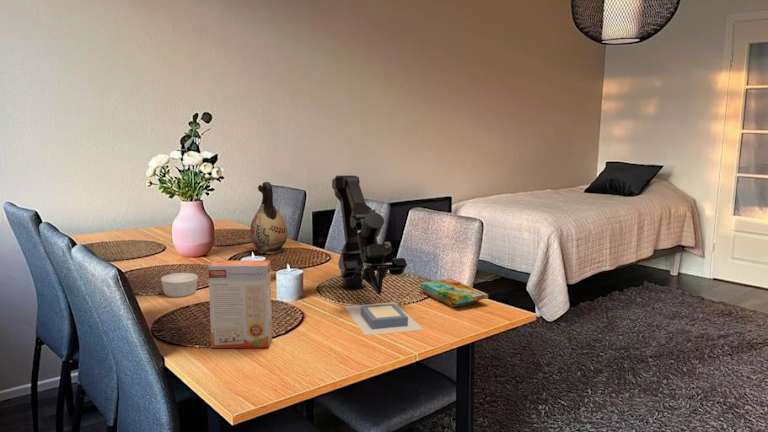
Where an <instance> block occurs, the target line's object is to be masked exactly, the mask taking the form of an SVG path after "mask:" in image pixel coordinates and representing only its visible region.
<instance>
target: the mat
mask: <svg viewBox="0 0 768 432" xmlns="http://www.w3.org/2000/svg"><path fill="white" fill-rule="evenodd" d="M385 304H395V305H396V306H397V307H398V308H399V309H400V310H401V311H402V312H403V313H404V314H405V315H406V316H407V317H408V326H400V327H389V328H379V329H372V328H371V327H370V326H369V324H368V323H367V322H366V321H365V319H364V318H363V317H362V316H361V306H373V305H385ZM343 308H344V309H345V310H346V311H347V313H348V314H349V315H350V317H351V319H352V320H353V321H354V322H355V324H356V325H357V327H359V329H360V331H361V332H362V333H363V334H364V335H365V336H371V335H380V334H381V335H382V334H389V333H390V334H391V333H401V332H403V333H404V332H411V331H413V332H414V331H421V330H424V328H422V327H421V326H420V325H419V324H418V323H417V322H416V321H415V320H414V319H413V317H411V316H410V315H409V314H408V313H407V312H406V311H405V310H403V308H402V307H401V306H399V304H397V302H396V301H392V302H391V301H390V302H379V303H369V304H368V303H367V304H357V305H356V304H354V305H345V306H343Z"/></svg>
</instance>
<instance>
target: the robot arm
mask: <svg viewBox="0 0 768 432" xmlns="http://www.w3.org/2000/svg"><path fill="white" fill-rule="evenodd" d="M331 187H332V190H333V192H334V196H335V197H336V198H337V200H338V201H339V202H340V208H341V209H340V210H341V218H342V224H343V233H344V241H345V242H344V245H343V247H342V248H341V253H340V256H339V259H338V269H339V270H340V276H341V279H342V283H341V284H339V285H338V286H339V287H341V288H343V289H345V290H349V291H354V290H359V289H362V288H363V289H364V288H366V284H363V280H364V281H365V282H366V283H368V284H369V286H370V287H371V288H372V289H373V291H374V292H375V293H376V295H381V294H382V288H383V280H384V279H385V278H386V276H387V274H388V273H389V274H390V275H391V276H402V275H403V274H404V272H405V271H406V267H407V265H408V264H407V259H405V257H393V258H391V260H390V262H384V261H385V259H386V258H385V256H387V255H388V254H391V253H392V252H393V246H392V243H391V241H384V242H383V243H379V241H378V237H380V234H381V232H382V229H383V227H384V223H385V219H384V217H383V216H382V215H381V214H380V213H378V212H376V210H375V209H372V208H371V206H369V205H367V202H366V201H365V198H364V193H363V192H362V188H361V186H360V177H359V176H357V175H352V174H351V175H335V177H334V178H332V180H331ZM383 262H384V263H383Z"/></svg>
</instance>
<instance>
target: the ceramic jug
mask: <svg viewBox="0 0 768 432" xmlns="http://www.w3.org/2000/svg"><path fill="white" fill-rule="evenodd" d="M257 189H258V192H260V193H261V194H262V201H261V203H260V206H259V208H258V209H257V211H256V212H255V215H254V217H253V219H252V221H251V224H250V229H249V237H250V241H251V243H252V244H253V246H254V247H255V248H256V249H257V251H258V253H259V252H261V253H266V254H265V255H275V254H278V253H281V252H282V248H283V247H284V245H285V244H286V242H287V239H288V233H289V232H288V228H287V224H286V222H285V220H284V218H283V216H282V215H281V214H280V212H279V210H278V209H277V207H276V206H275V205H274V202H273V199H274V196H273V195H274V192H273V186H272V184H271V183H270V182H269V181H264V182H262V184H259V185H258V187H257ZM261 253H260V254H261Z"/></svg>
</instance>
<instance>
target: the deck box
mask: <svg viewBox="0 0 768 432" xmlns="http://www.w3.org/2000/svg"><path fill="white" fill-rule="evenodd" d="M361 316H362V317H363V318H364V319H365V321H366V322H367V323H368V324H369V326H370V327H371V328H372V329H379V328H389V327H400V326H408V317H407V316H406V315H405V314H404V313H403V312H402V311H401V310H400V309H399V308H398V307H397V306H396V305H395V304H385V305H373V306H361Z"/></svg>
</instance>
